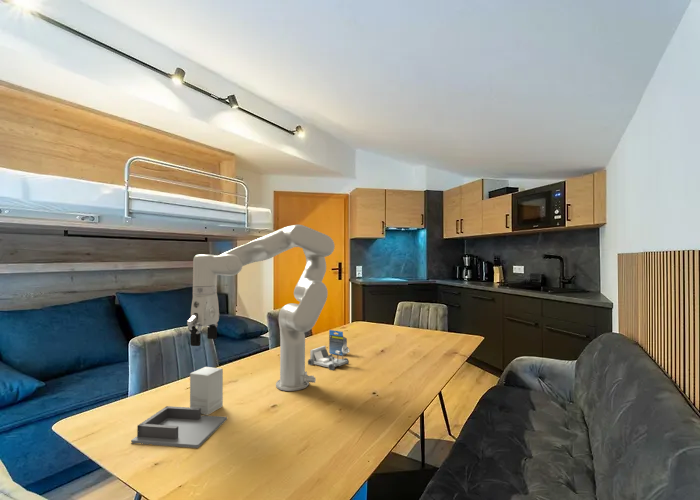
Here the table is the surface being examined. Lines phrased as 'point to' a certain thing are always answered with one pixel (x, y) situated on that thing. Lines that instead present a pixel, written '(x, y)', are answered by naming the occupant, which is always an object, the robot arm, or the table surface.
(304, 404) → the table surface
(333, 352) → the label tape cartridge
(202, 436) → the box holder
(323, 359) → the toy car
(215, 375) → the supplement box
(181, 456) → the table surface
